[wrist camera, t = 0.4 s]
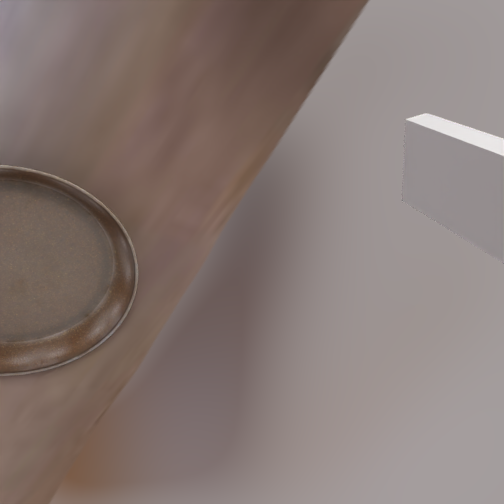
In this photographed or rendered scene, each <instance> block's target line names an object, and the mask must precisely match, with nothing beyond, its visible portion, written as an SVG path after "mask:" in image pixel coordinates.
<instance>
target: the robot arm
mask: <svg viewBox="0 0 504 504" xmlns="http://www.w3.org/2000/svg"><path fill="white" fill-rule="evenodd" d="M402 201H403V202H405V203H407V204H408V205H410V206H411V207H413V208H415V209H416V210H418V211H419V212H421V213H423V214H424V215H426V216H427V217H429V218H431V219H432V220H434V221H436V222H437V223H439V224H440V225H442V226H444V227H445V228H447V229H448V230H450V231H452V232H453V233H455V234H457V235H458V236H460V237H461V238H463V239H465V240H466V241H468V242H469V243H471V244H473V245H474V246H476V247H477V248H479V249H481V250H482V251H484V252H486V253H487V254H489V255H491V256H492V257H494V258H495V259H497V260H498V261H500V262H502V263H503V264H504V139H503V138H500V137H497V136H494V135H491V134H488V133H484V132H482V131H479V130H476V129H473V128H470V127H467V126H464V125H461V124H458V123H455V122H452V121H449V120H446V119H443V118H440V117H437V116H434V115H431V114H428V113H425V114H422V115H418V116H415V117H412V118H408V119H406V120H405V140H404V163H403V186H402Z"/></svg>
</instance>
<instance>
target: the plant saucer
mask: <svg viewBox="0 0 504 504" xmlns="http://www.w3.org/2000/svg"><path fill="white" fill-rule="evenodd" d="M137 285H138V263H137V258H136V254H135V250H134V247H133V244H132V242H131V239H130V237H129V235H128V233H127V232H126V230H125V228H124V227H123V225H122V224H121V222H120V221H119V220H118V218H117V217H116V216H115V215H114V214H113V213H112V212H111V211H110V210H109V209H108V208H107V207H106V206H105V205H104V204H103V203H102V202H101V201H99V200H98V199H97V198H96V197H94V196H93V195H91V194H90V193H88V192H87V191H85V190H84V189H82V188H80V187H78V186H76V185H75V184H73V183H71V182H69V181H67V180H64V179H62V178H59V177H57V176H54V175H51V174H48V173H45V172H41V171H37V170H33V169H29V168H23V167H18V166H7V165H0V376H11V375H24V374H30V373H36V372H41V371H45V370H49V369H52V368H56V367H59V366H62V365H64V364H67V363H69V362H71V361H74V360H76V359H78V358H80V357H82V356H84V355H85V354H87V353H89V352H90V351H92V350H93V349H95V348H96V347H98V346H99V345H100V344H102V343H103V342H104V341H105V340H106V339H107V338H109V337H110V336H111V335H112V334H113V333H114V332H115V330H116V329H117V328H118V327H119V326H120V324H121V323H122V322H123V320H124V319H125V317H126V315H127V313H128V312H129V310H130V308H131V306H132V303H133V301H134V297H135V294H136V290H137Z"/></svg>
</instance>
